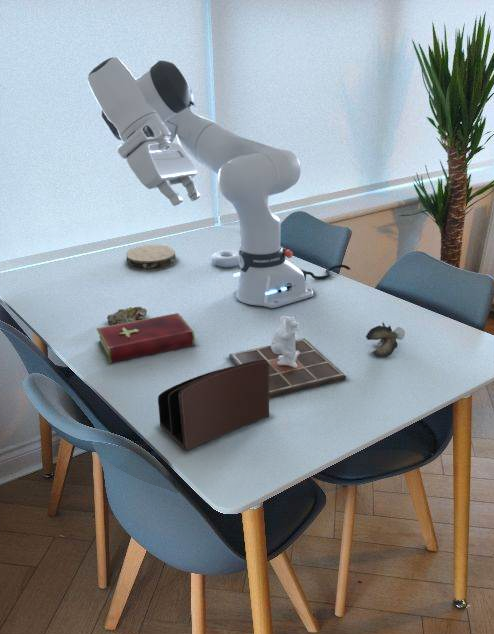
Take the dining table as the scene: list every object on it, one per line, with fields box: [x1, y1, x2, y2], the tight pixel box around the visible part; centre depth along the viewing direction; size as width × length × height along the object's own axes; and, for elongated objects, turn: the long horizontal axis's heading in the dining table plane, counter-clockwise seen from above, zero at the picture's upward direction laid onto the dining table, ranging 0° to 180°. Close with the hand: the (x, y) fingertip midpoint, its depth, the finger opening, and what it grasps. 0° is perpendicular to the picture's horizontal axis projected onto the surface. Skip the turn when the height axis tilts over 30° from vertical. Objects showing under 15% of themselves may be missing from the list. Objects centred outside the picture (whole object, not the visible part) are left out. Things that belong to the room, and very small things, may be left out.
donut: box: [211, 249, 239, 269], centre depth 196 cm, size 10×4×10 cm
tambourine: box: [125, 244, 177, 271], centre depth 198 cm, size 16×16×3 cm
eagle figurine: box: [365, 321, 406, 358], centre depth 145 cm, size 8×7×9 cm
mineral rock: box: [106, 306, 148, 325], centre depth 161 cm, size 11×4×8 cm
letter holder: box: [157, 359, 270, 452], centre depth 117 cm, size 10×20×14 cm, turn 126°
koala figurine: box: [270, 315, 300, 368], centre depth 136 cm, size 8×7×12 cm
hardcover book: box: [96, 312, 196, 364], centre depth 148 cm, size 12×21×4 cm, turn 115°
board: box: [228, 337, 347, 399], centre depth 139 cm, size 20×20×1 cm
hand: (187, 201), depth 122 cm, fingers open, 8 cm apart
